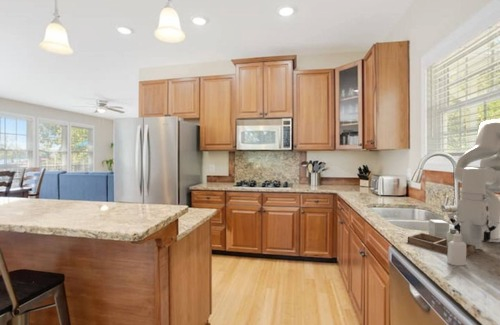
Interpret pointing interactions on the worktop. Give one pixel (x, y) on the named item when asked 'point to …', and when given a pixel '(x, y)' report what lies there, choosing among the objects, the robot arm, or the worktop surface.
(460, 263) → the eye dropper bottle
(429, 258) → the worktop surface
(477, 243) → the skincare box
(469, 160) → the robot arm
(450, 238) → the sage bottle
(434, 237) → the wooden frame
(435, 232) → the skincare box
